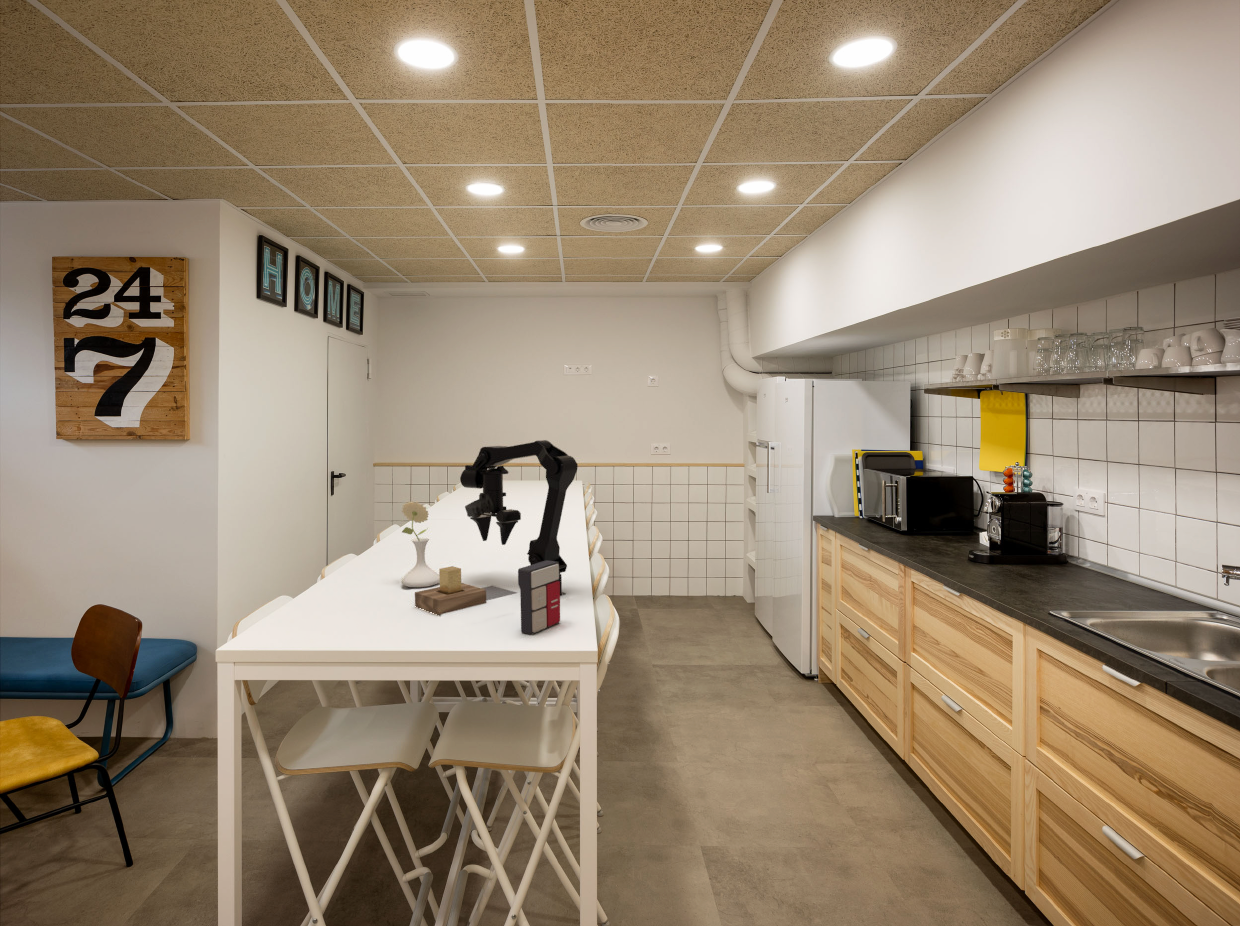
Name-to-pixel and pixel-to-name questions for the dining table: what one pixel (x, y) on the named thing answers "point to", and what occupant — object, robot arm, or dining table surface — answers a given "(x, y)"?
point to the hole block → (449, 599)
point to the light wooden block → (450, 580)
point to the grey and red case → (539, 596)
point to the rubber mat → (496, 592)
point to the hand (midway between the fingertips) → (494, 542)
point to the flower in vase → (418, 550)
